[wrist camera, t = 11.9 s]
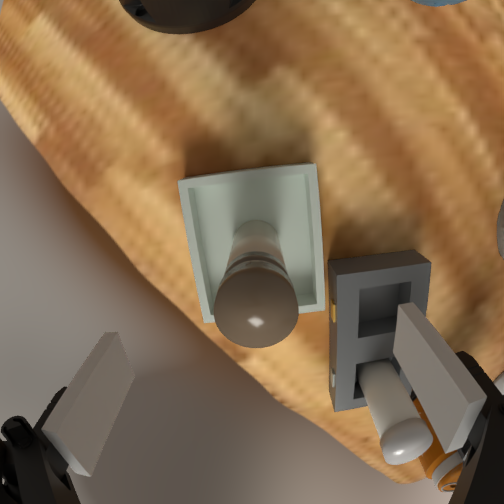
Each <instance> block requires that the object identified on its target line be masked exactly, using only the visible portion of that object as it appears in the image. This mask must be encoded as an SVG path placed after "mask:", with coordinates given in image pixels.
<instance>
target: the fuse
mask: <svg viewBox="0 0 504 504" xmlns="http://www.w3.org/2000/svg"><path fill="white" fill-rule="evenodd" d="M356 376H357V379H358V381H359V384H360V386H361V389H362V391H363V394H364V397H365V399H366V402H367V405H368V407H369V410H370V413H371V415H372V418H373V421H374V423H375V426H376V429H377V432H378V434H379V437H380V446H381V449H382V452H383V455H384V458H385V461H386V462H387V463H388V464H392V465H397V464H403V463H406V462H409V461H411V460H413V459H415V458H417V457H419V456H420V455H422V454H423V453H424V452H425V451H426V450H427V449H428V448H429V447H430V446H431V444H432V442H433V436H432V434H431V432H430V430H429V428H428V426H427V424H426V422H425V421H424V420H423V419H421V417H420V415H419V413H418V411H417V409H416V407H415V406H414V404H413V402H412V400H411V398H410V396H409V394H408V392H407V390H406V388H405V387H404V385H403V383H402V381H401V379H400V377H399V376H398V374H397V372H396V370H395V368H394V366H393V365H392V363H391V361H390V359H389V358H385V359H380V360H375V361H369V362H364V363H359V364H356Z"/></svg>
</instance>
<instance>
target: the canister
mask: <svg viewBox="0 0 504 504" xmlns="http://www.w3.org/2000/svg"><path fill="white" fill-rule="evenodd" d="M410 398H411V400H412V402H413V404H414V406H415V407H416V409H417V411H418V413H419V415H420V417H421V419H423V420H424V421H425V422H426V424H427V426H428V428H429V430H430V432H431V434H432V436H433V442H432V444H431V446H430V447H429V448H428V449H427V450H426V451H425V452H424V453H423V454H422V455H420V456H419V460H420V462H421V464H422V467H423V469H424V472H425V474H426V476H427V478H429V479H433V482H434V484H435V486H436V488H437V489H438V490H440V491H441V492H454V489H455V487H456V484H457V482H458V479H459V476H460V474H461V471H462V468H463V465H464V462H465V461H463V458H464V457H465V455H466V453H467V452H468V450H469V448H470V446H471V445H472V444H471V443H470V441H469V439H468V438H467V440H466V442H465V443H464V445H463V447H462V448H459V449H457V450H454V451H451V452H449V453H446V454H445V452H444V449H443V447H442V445H441V443H440V441H439V439H438V437H437V435H436V433H435V431H434V429H433V427H432V425H431V423H430V421H429V419H428V417H427V415H426V413H425V411H424V409H423V407H422V405H421V403H420V401H419V400H418V398H417V396H416V394H415V392H414V390H413V391H412V392H411V395H410Z"/></svg>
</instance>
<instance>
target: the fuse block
mask: <svg viewBox="0 0 504 504" xmlns="http://www.w3.org/2000/svg"><path fill="white" fill-rule="evenodd" d="M430 273H431V262H430V261H429V260H428V259H426V258H425V257H424V256H422V255H421V254H420V253H418V252H417V251H416V250H408V251H400V252H392V253H385V254H377V255H369V256H361V257H353V258H344V259H336V260H328V280H329V324H330V363H329V393H330V396H331V400H332V404H333V408H334V412H338V411H343V410H349V409H354V408H360V407H365V406H368V405H367V402H366V399H365V397H364V394H363V391H362V389H361V386H360V384H359V381H358V379H357V376H356V364H359V363H364V362H369V361H375V360H380V359H385V358H389V359H390V361H391V363H392V365H393V366H394V368H395V370H396V372H397V374H398V376H399V377H400V379H401V381H402V383H403V385H404V387H405V388H406V390H407V392H408V394H409V396H410V395H411V391H412V386H411V384H410V383H409V381H408V379H407V377H406V375H405V373H404V372H403V370H402V368H401V366H400V364H399V363H398V361H397V359H396V357H395V355H394V354H393V348H394V340H395V333H396V324H397V315H398V305H399V304H405V303H411V302H413V303H414V304H415V305H416V306H417V307H418V309H419V310H420V311H421V312H422V313H423V315H424V316H425V317H426V310H427V302H428V293H429V284H430Z"/></svg>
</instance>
